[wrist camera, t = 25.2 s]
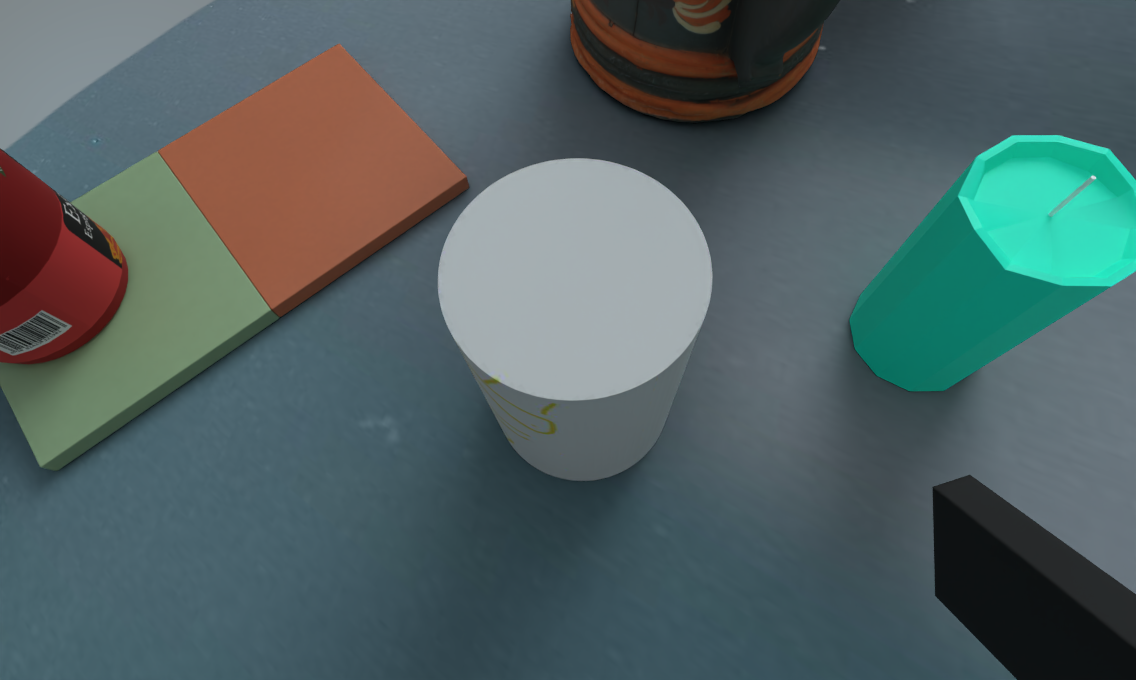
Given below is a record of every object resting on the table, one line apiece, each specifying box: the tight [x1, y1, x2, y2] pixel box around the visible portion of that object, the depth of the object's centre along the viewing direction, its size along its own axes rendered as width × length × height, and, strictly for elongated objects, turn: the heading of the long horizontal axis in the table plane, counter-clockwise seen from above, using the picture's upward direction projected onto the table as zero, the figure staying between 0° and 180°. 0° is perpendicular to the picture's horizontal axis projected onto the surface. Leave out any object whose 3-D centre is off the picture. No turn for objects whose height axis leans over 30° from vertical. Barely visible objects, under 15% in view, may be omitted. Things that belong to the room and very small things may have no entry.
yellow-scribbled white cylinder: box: [438, 158, 712, 481], centre depth 24 cm, size 8×8×12 cm
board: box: [0, 44, 469, 471], centre depth 34 cm, size 24×13×1 cm, turn 130°
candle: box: [849, 135, 1136, 391], centre depth 25 cm, size 6×6×12 cm
